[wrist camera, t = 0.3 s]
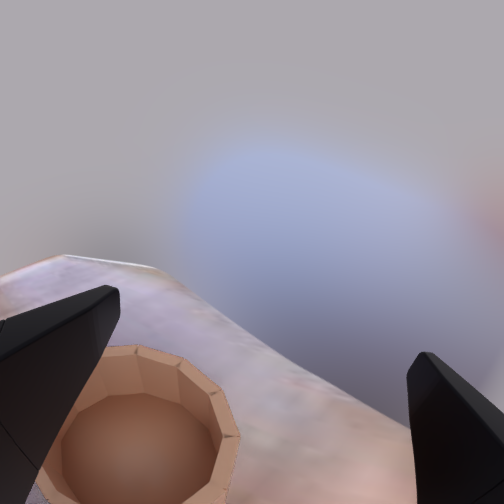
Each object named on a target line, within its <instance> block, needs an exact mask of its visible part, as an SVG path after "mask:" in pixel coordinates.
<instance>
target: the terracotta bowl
mask: <svg viewBox="0 0 504 504" xmlns="http://www.w3.org/2000/svg"><path fill="white" fill-rule="evenodd" d="M240 438H241V437H240V433H239V431H238V428H237V426H236V423H235V421H234V418H233V415H232V413H231V410H230V408H229V405H228V403H227V400H226V397H225V395H224V392H223V390H222V389H221V388H220V387H219V386H218V385H216V384H215V383H214V382H213V381H211V380H210V379H209V378H208V377H207V376H205V375H204V374H203V373H202V372H201V371H199V370H198V369H197V368H196V367H195V366H193V365H192V364H191V363H190V362H189V361H188V360H186V359H184V358H182V357H179V356H175V355H172V354H168V353H165V352H161V351H158V350H155V349H151V348H148V347H145V346H142V345H139V346H138V345H126V346H113V347H106V348H105V350H104V352H103V354H102V356H101V359H100V360H99V362H98V364H97V366H96V367H95V369H94V371H93V372H92V374H91V376H90V378H89V379H88V381H87V383H86V384H85V386H84V388H83V390H82V391H81V393H80V395H79V397H78V398H77V400H76V402H75V404H74V405H73V407H72V409H71V411H70V413H69V414H68V416H67V418H66V420H65V422H64V424H63V426H62V427H61V429H60V431H59V433H58V435H57V437H56V439H55V441H54V443H53V445H52V447H51V448H50V450H49V452H48V454H47V456H46V458H45V460H44V463H43V465H42V467H41V469H40V470H39V473H38V475H37V478H36V480H35V482H36V483H37V485H38V487H39V489H40V490H41V492H42V494H43V495H44V497H45V499H46V500H47V501H48V502H49V503H51V504H225V500H226V497H227V493H228V489H229V485H230V481H231V477H232V474H233V470H234V466H235V461H236V457H237V452H238V447H239V442H240Z"/></svg>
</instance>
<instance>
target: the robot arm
mask: <svg viewBox="0 0 504 504" xmlns="http://www.w3.org/2000/svg"><path fill="white" fill-rule="evenodd" d="M119 318H120V294H119V290H118V289H117V288H115V287H112V286H109V285H103V286H100V287H97V288H94V289H91V290H88V291H85V292H82V293H79V294H76V295H74V296H71V297H68V298H65V299H62V300H59V301H56V302H53V303H50V304H47V305H44V306H41V307H38V308H36V309H33V310H30V311H27V312H24V313H21V314H18V315H15V316H13V317H10V318H7V319H6V320H1V321H0V504H25V502H26V499H27V497H28V495H29V493H30V491H31V488H32V486H33V484H34V482H35V480H36V478H37V475H38V473H39V470H40V469H41V467H42V465H43V463H44V460H45V458H46V456H47V454H48V452H49V450H50V448H51V447H52V445H53V443H54V441H55V439H56V437H57V435H58V433H59V431H60V429H61V427H62V426H63V424H64V422H65V420H66V418H67V416H68V414H69V413H70V411H71V409H72V407H73V405H74V404H75V402H76V400H77V398H78V397H79V395H80V393H81V391H82V390H83V388H84V386H85V384H86V383H87V381H88V379H89V378H90V376H91V374H92V372H93V371H94V369H95V367H96V366H97V364H98V362H99V360H100V359H101V356H102V354H103V352H104V350H105V348H106V346H107V344H108V341H109V339H110V337H111V335H112V333H113V331H114V329H115V327H116V325H117V322H118V320H119ZM406 378H407V391H408V407H409V421H410V429H411V436H412V444H413V453H414V463H415V474H416V488H417V504H504V414H503V413H502V412H501V411H500V410H499V409H498V408H497V407H496V406H495V405H493V404H492V403H491V402H490V401H489V400H488V399H486V398H485V397H484V396H483V395H482V394H481V393H479V392H478V391H477V390H476V389H475V388H474V387H473V386H471V385H470V384H469V383H468V382H467V381H466V380H464V379H463V378H462V377H461V376H460V375H459V374H457V373H456V372H455V371H454V370H453V369H452V368H450V367H449V366H448V365H447V364H445V363H444V362H443V361H442V360H441V359H440V358H438V357H437V356H436V355H435V354H433V353H431V352H421V353H419V354H418V356H417V358H416V359H415V361H414V362H413V364H412V365H411V367H410V369H409V370H408V373H407V377H406Z"/></svg>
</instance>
